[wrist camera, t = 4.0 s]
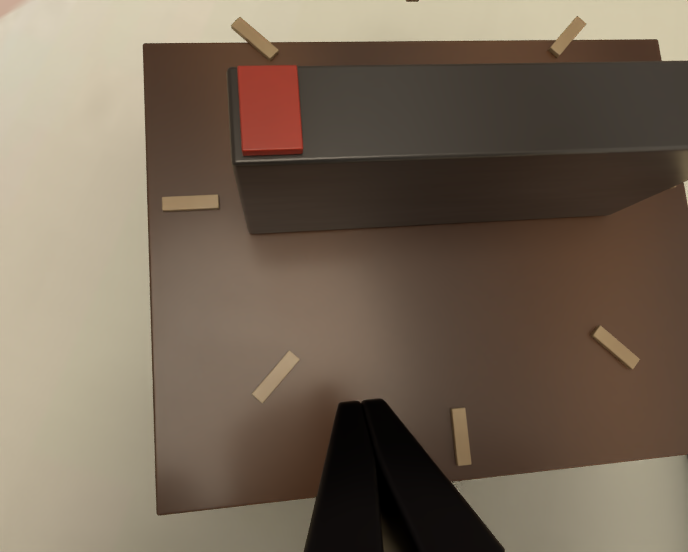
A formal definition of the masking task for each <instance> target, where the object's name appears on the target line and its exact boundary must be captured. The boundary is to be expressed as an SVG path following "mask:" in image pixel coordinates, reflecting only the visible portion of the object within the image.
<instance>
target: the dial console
mask: <svg viewBox="0 0 688 552" xmlns="http://www.w3.org/2000/svg"><path fill="white" fill-rule="evenodd" d="M406 1H407V2H418V1H419V0H406ZM585 25H586V23H585V22H584V21H583V20H581V19H580V18H579V17H578V16H577V17H576V18H575V19H574V20H573V21H572V23H571V24H570V25H569V26H568V27H567V28H566V30H565V31H564V32H563V33H562V34H561V35H560V36H559V38H558V39H557V40H520V41H394V42H269V41H268V40H267V39H265V38H264V37H263V36H262V35H261V34H260V33H258V32H257V31H256V30H255V29H254V28H253V27H251V26H250V25H249V24H248V23H247V22H246V21H244V20H243V19H242V18H241V17H239V18H238V19H237V20H236V21H235V22H234V23H233V24H232V25H231V27H232V29H233V30H234V31H235V32H236V33H238V34H239V35H240V36H241V37H242V38H243V39H245V40H246V41H247V42H248V43H145V44H143V68H144V102H145V136H146V170H147V204H148V238H149V272H150V307H151V341H152V375H153V409H154V443H155V477H156V512H157V515H168V514H176V513H185V512H194V511H202V510H211V509H220V508H228V507H237V506H246V505H254V504H263V503H271V502H280V501H289V500H297V499H306V498H315V497H317V493H318V488H319V484H320V480H321V475H322V471H323V467H324V462H325V458H326V454H327V449H328V445H329V441H330V436H331V432H332V428H333V423H334V419H335V415H336V411H337V407H338V404H339V403H340V402H346V401H359V402H360V403H361V402H362V401H363V400H367V399H378V398H380V399H383V400H385V401H386V403H387V404H388V405H389V406H390V408H391V409H392V410H393V411H394V412H395V414H396V415H397V416H398V417H399V419H400V420H401V421H402V422H403V424H404V425H405V426H406V427H407V429H408V430H409V431H410V432H411V434H412V435H413V436H414V437H415V438H416V440H417V441H418V442H419V443H420V445H421V446H422V447H423V448H424V450H425V451H426V452H427V453H428V455H429V456H430V457H431V458H432V460H433V461H434V462H435V463H436V465H437V466H438V467H439V468H440V469H441V471H442V472H443V473H444V474H445V476H446V477H447V478H448V479H449V481H450V482H453V481H462V480H471V479H479V478H488V477H497V476H505V475H514V474H523V473H531V472H540V471H549V470H557V469H566V468H575V467H583V466H592V465H600V464H609V463H618V462H626V461H635V460H644V459H652V458H661V457H670V456H678V455H687V454H688V205H687V199H686V194H685V188H684V183H680V184H678V185H676V186H674V187H671V188H669V189H667V190H665V191H662V192H660V193H658V194H656V195H653V196H651V197H649V198H647V199H644V200H642V201H640V202H638V203H635V204H633V205H631V206H629V207H626V208H624V209H622V210H620V211H617V212H615V213H613V214H610V215H603V216H584V217H565V218H546V219H527V220H508V221H488V222H469V223H450V224H431V225H412V226H393V227H374V228H355V229H336V230H317V231H298V232H279V233H260V234H251V233H249V231H248V228H247V224H246V220H245V216H244V212H243V208H242V204H241V200H240V196H239V192H238V188H237V184H236V180H235V176H234V172H233V168H232V164H231V150H230V131H229V112H228V93H227V75H226V72H227V70H228V68H230V67H238V66H261V65H297V66H335V65H409V64H483V63H556V62H630V61H662V60H661V55H660V49H659V44H658V40H657V39H645V40H573V39H574V38H575V37H576V36H577V34H578V33H579V32H580V31H581V30H582V29H583V27H584V26H585Z"/></svg>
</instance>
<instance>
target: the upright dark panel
mask: <svg viewBox="0 0 688 552" xmlns="http://www.w3.org/2000/svg"><path fill="white" fill-rule="evenodd" d="M226 75H227V93H228V112H229V131H230V150H231V164H232V168H233V172H234V176H235V180H236V184H237V188H238V192H239V196H240V200H241V204H242V208H243V212H244V216H245V220H246V224H247V228H248V231H249V233H251V234H260V233H279V232H298V231H317V230H336V229H355V228H374V227H393V226H412V225H431V224H450V223H469V222H488V221H508V220H527V219H546V218H565V217H584V216H603V215H610V214H613V213H615V212H617V211H620V210H622V209H624V208H626V207H629V206H631V205H633V204H635V203H638V202H640V201H642V200H644V199H647V198H649V197H651V196H653V195H656V194H658V193H660V192H662V191H665V190H667V189H669V188H671V187H674V186H676V185H678V184H680V183H683V182H685V181H687V180H688V61H630V62H556V63H483V64H409V65H335V66H297V65H261V66H238V67H230V68H228V70H227V72H226Z"/></svg>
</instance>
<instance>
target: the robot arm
mask: <svg viewBox="0 0 688 552" xmlns="http://www.w3.org/2000/svg"><path fill="white" fill-rule="evenodd" d="M304 552H505V549H504V548H503V546H502V545H501V544H500V543H499V541H498V540H497V539H496V538H495V536H494V535H493V534H492V533H491V531H490V530H489V529H488V528H487V526H486V525H485V524H484V523H483V521H482V520H481V519H480V518H479V517H478V515H477V514H476V513H475V512H474V510H473V509H472V508H471V507H470V505H469V504H468V503H467V502H466V500H465V499H464V498H463V497H462V495H461V494H460V493H459V492H458V491H457V489H456V488H455V487H454V486H453V484H452V483H451V482H450V481H449V479H448V478H447V477H446V476H445V474H444V473H443V472H442V471H441V469H440V468H439V467H438V466H437V465H436V463H435V462H434V461H433V460H432V458H431V457H430V456H429V455H428V453H427V452H426V451H425V450H424V448H423V447H422V446H421V445H420V443H419V442H418V441H417V440H416V438H415V437H414V436H413V435H412V434H411V432H410V431H409V430H408V429H407V427H406V426H405V425H404V424H403V422H402V421H401V420H400V419H399V417H398V416H397V415H396V414H395V412H394V411H393V410H392V409H391V408H390V406H389V405H388V404H387V403H386V401H385V400H383V399H380V398H378V399H367V400H363V401H362V402H361V403H360V402H359V401H346V402H340V403H339V404H338V407H337V411H336V415H335V419H334V423H333V428H332V432H331V436H330V441H329V445H328V449H327V454H326V458H325V462H324V467H323V471H322V475H321V480H320V484H319V488H318V493H317V497H316V501H315V505H314V510H313V514H312V518H311V523H310V527H309V531H308V536H307V540H306V544H305V549H304Z"/></svg>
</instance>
